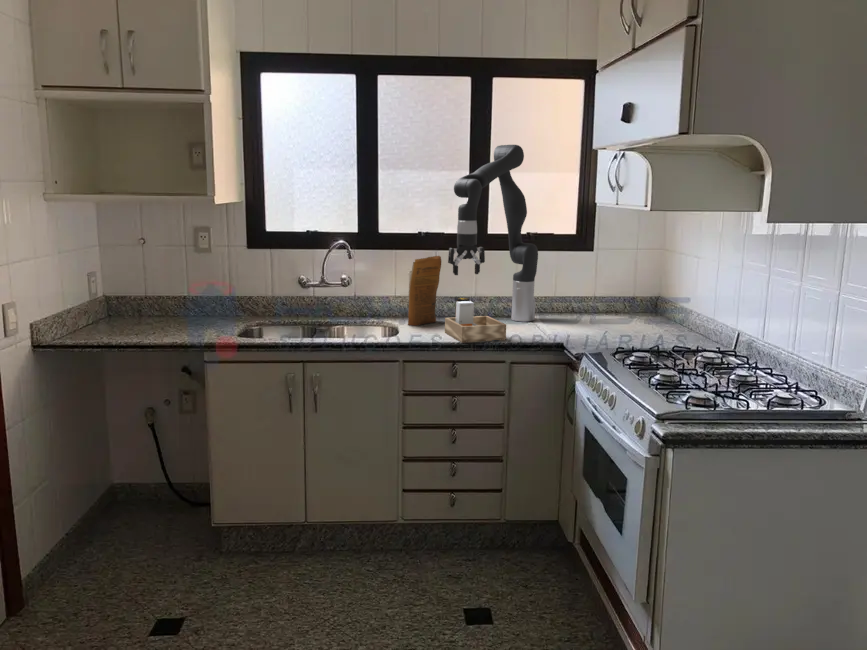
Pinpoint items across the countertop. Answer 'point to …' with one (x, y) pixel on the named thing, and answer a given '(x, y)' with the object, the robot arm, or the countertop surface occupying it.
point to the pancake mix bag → (423, 290)
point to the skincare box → (464, 313)
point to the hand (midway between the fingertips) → (466, 274)
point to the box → (476, 330)
